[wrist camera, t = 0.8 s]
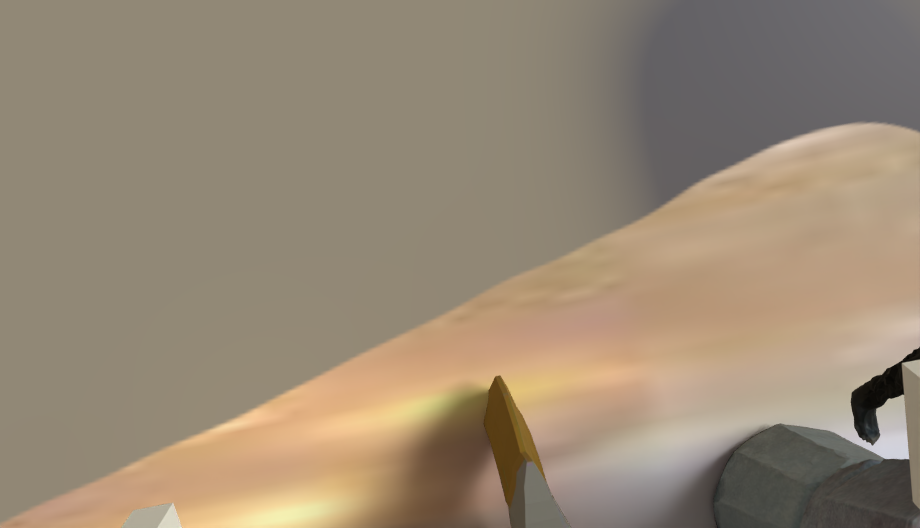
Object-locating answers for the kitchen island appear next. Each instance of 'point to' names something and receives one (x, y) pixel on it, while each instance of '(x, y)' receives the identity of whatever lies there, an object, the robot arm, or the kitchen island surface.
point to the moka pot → (820, 473)
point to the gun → (519, 464)
